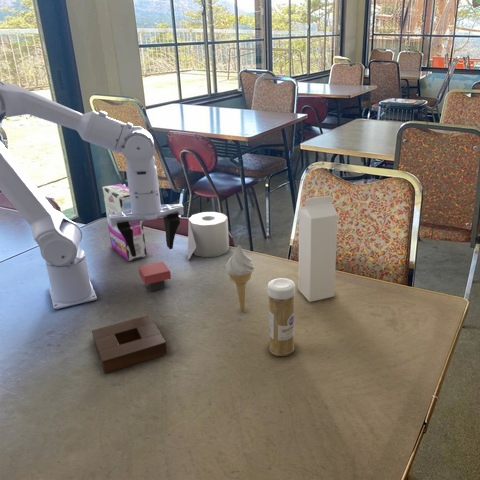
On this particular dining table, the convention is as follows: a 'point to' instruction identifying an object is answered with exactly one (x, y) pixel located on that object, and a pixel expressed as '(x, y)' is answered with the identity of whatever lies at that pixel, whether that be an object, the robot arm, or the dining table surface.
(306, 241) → the milk
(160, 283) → the back pad
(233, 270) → the ice cream cone
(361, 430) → the dining table surface
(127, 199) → the candy bar box
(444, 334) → the dining table surface
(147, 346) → the block
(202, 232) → the toilet tissue
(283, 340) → the sprinkles bottle
